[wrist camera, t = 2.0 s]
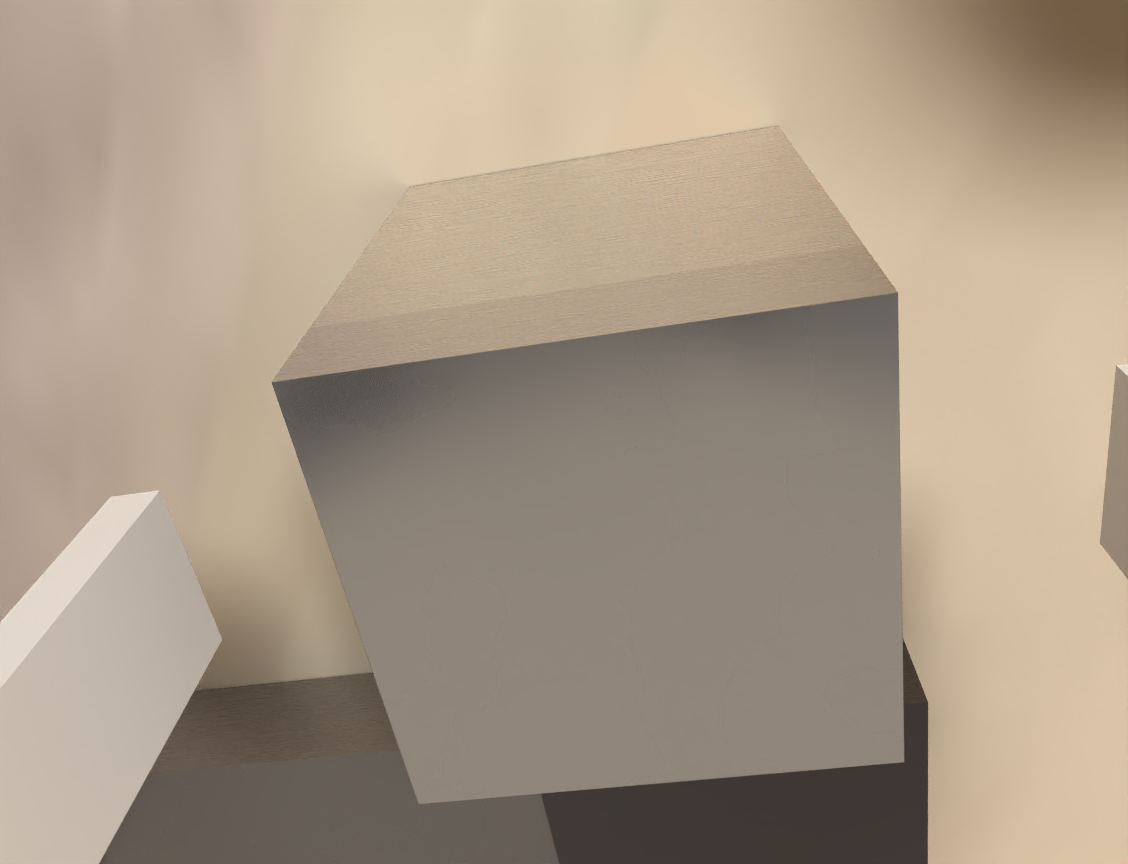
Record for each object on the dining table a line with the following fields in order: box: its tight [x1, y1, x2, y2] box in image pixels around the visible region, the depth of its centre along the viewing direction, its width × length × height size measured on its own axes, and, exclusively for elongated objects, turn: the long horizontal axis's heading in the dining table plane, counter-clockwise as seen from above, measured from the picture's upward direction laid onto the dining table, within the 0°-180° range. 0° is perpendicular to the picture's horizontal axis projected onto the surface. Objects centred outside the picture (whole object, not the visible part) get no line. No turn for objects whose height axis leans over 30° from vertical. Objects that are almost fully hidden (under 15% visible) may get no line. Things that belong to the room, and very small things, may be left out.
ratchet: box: [99, 640, 928, 864], centre depth 21 cm, size 24×5×6 cm, turn 100°
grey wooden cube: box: [272, 126, 904, 804], centre depth 15 cm, size 6×6×8 cm
